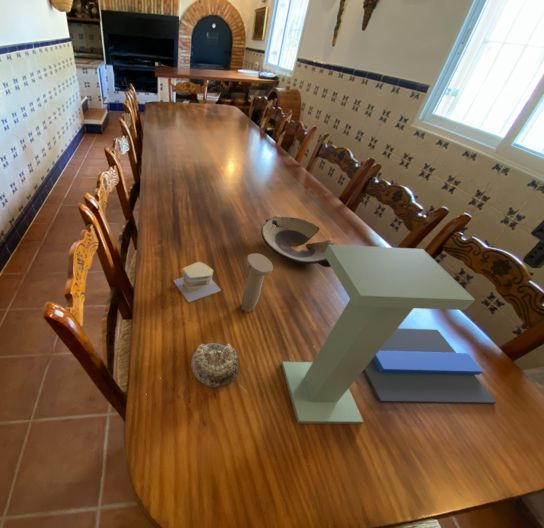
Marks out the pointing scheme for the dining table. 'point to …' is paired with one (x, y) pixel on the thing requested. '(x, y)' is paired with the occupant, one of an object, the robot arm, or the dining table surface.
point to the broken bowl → (294, 240)
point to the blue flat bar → (426, 363)
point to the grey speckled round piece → (215, 364)
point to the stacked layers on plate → (197, 282)
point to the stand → (366, 324)
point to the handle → (255, 279)
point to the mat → (424, 385)
